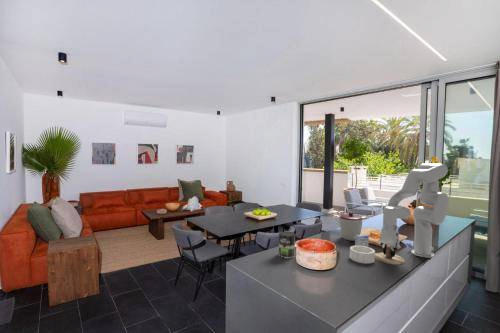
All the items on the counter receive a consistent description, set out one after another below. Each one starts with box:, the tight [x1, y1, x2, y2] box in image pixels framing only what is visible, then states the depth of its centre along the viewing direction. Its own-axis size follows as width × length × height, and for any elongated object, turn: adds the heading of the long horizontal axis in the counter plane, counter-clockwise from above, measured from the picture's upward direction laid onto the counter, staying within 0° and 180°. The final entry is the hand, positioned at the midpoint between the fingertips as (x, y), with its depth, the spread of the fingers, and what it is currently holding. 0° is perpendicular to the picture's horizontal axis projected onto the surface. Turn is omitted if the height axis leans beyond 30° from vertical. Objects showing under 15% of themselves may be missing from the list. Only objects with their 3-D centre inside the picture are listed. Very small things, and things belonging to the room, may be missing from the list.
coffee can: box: [278, 231, 296, 259], centre depth 167 cm, size 10×10×14 cm
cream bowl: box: [349, 245, 376, 264], centre depth 163 cm, size 14×14×6 cm
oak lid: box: [375, 246, 406, 266], centre depth 163 cm, size 17×17×7 cm
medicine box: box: [354, 233, 370, 247], centre depth 184 cm, size 8×4×9 cm, turn 105°
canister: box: [338, 211, 364, 242], centre depth 203 cm, size 18×18×21 cm
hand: (388, 255), depth 163 cm, fingers open, 4 cm apart
